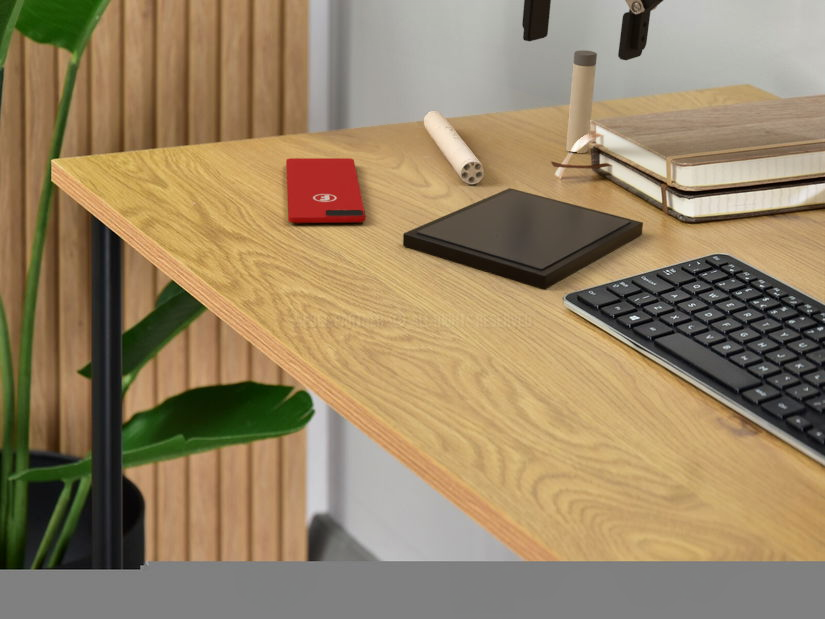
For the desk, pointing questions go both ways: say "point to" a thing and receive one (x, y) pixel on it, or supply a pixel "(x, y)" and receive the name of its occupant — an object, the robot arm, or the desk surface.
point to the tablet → (524, 237)
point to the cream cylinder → (454, 148)
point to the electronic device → (323, 191)
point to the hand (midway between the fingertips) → (581, 48)
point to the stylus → (581, 97)
